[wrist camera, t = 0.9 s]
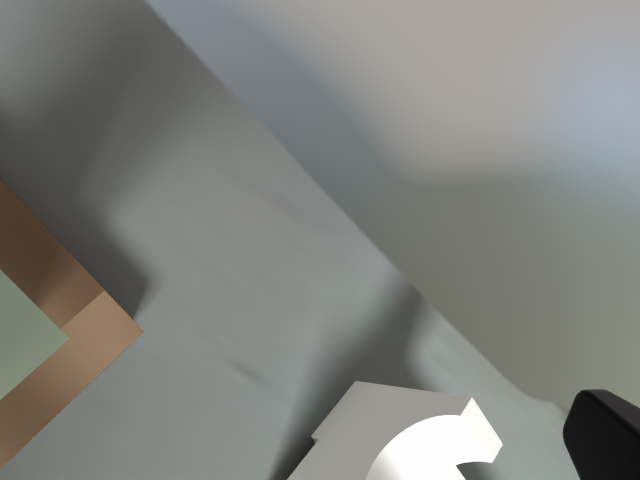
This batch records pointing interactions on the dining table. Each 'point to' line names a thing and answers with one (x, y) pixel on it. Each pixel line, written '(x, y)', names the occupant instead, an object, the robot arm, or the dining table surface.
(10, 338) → the tall mint pillar
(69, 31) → the dining table surface
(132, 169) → the dining table surface
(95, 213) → the dining table surface
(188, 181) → the dining table surface
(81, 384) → the walnut collar
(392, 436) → the bracket
